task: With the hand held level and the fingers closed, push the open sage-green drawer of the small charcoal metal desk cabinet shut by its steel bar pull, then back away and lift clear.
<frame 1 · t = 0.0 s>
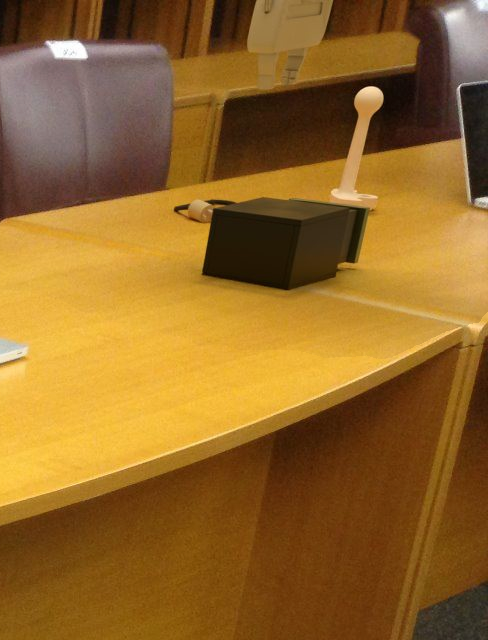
hand: (276, 86, 202), 26 cm above the table, tool pointing down, fingers open, 8 cm apart
cable: (215, 216, 260), on the table
drawer: (310, 233, 221), point 5 cm above the table, slide at 7.0 cm
joystick: (351, 209, 268), on the table
cabinet: (268, 277, 216), on the table
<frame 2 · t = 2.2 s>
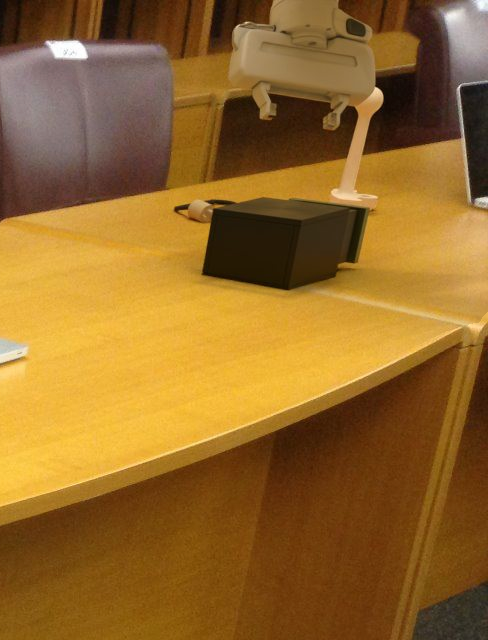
hand: (299, 122, 214), 20 cm above the table, tool tilted 35°, fingers open, 8 cm apart
nothing on the table moved.
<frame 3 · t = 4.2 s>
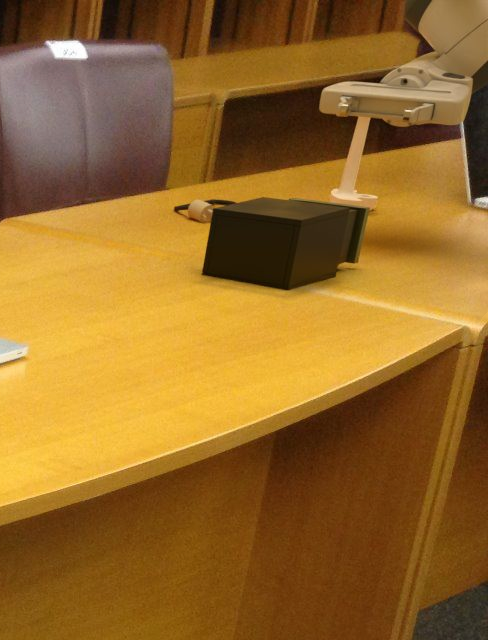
hand: (374, 113, 225), 20 cm above the table, tool horizontal, fingers open, 8 cm apart
nothing on the table moved.
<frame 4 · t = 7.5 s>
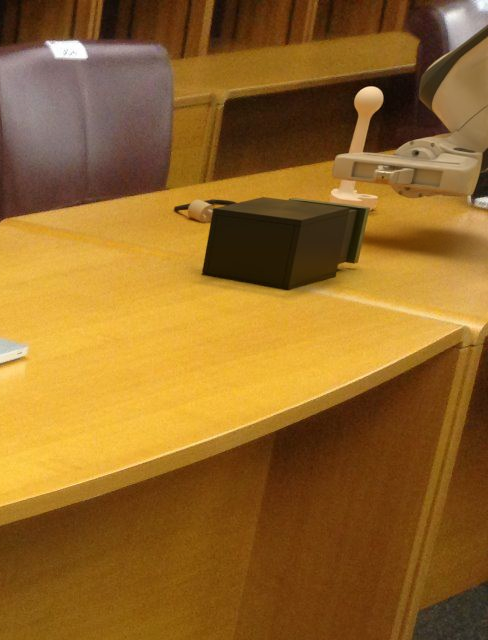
hand: (382, 177, 231), 11 cm above the table, tool horizontal, fingers closed
nothing on the table moved.
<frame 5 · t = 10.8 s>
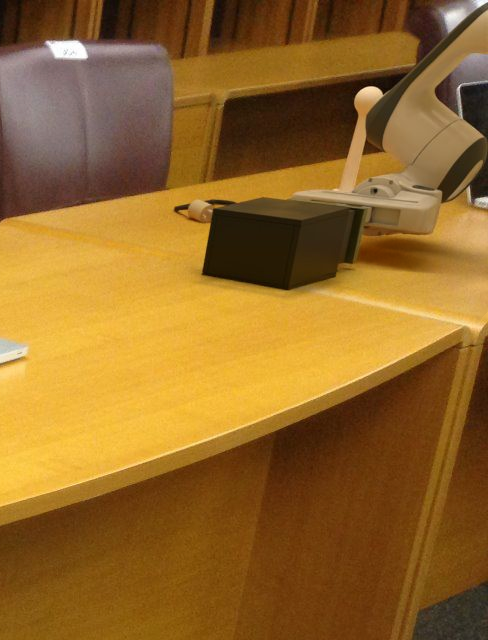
hand: (339, 216, 225), 6 cm above the table, tool horizontal, fingers closed, pressing on drawer
drawer: (308, 234, 220), point 5 cm above the table, slide at 6.4 cm, touching gripper
everything else where it was.
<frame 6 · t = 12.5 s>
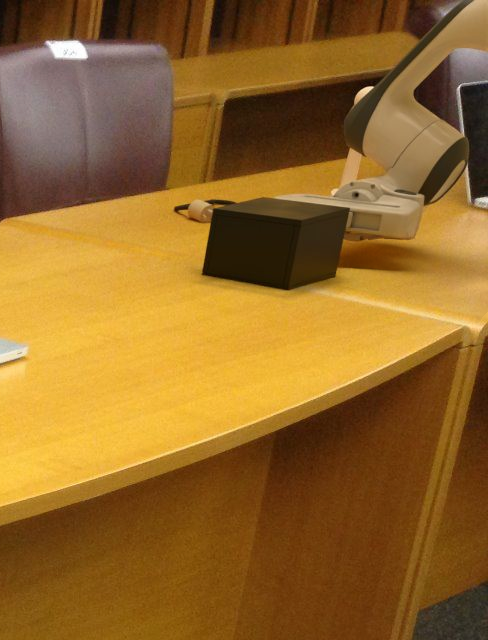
hand: (319, 221, 221), 6 cm above the table, tool horizontal, fingers closed, pressing on drawer
drawer: (287, 239, 217), point 5 cm above the table, slide at 0.0 cm, touching cabinet, gripper
everything else where it was.
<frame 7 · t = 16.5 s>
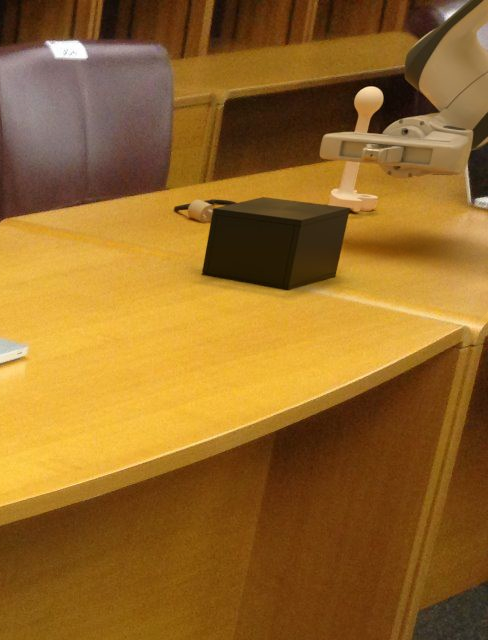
hand: (371, 155, 226), 14 cm above the table, tool horizontal, fingers closed
drawer: (287, 239, 217), point 5 cm above the table, slide at 0.0 cm, touching cabinet
everything else where it was.
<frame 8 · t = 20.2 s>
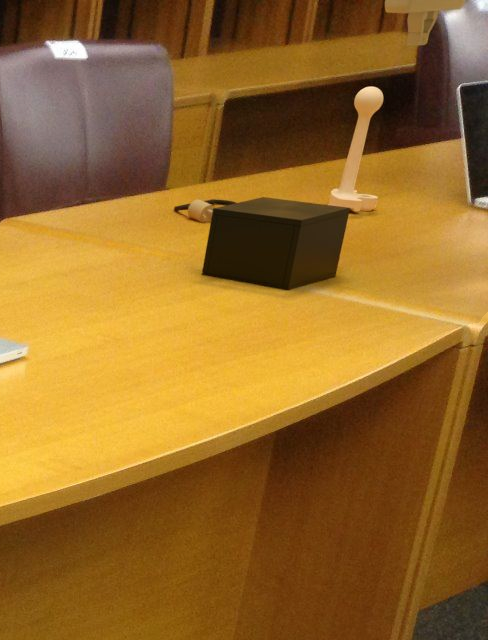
hand: (416, 45, 223), 29 cm above the table, tool pointing down, fingers closed
nothing on the table moved.
at the end: drawer slide at 0.0 cm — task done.
